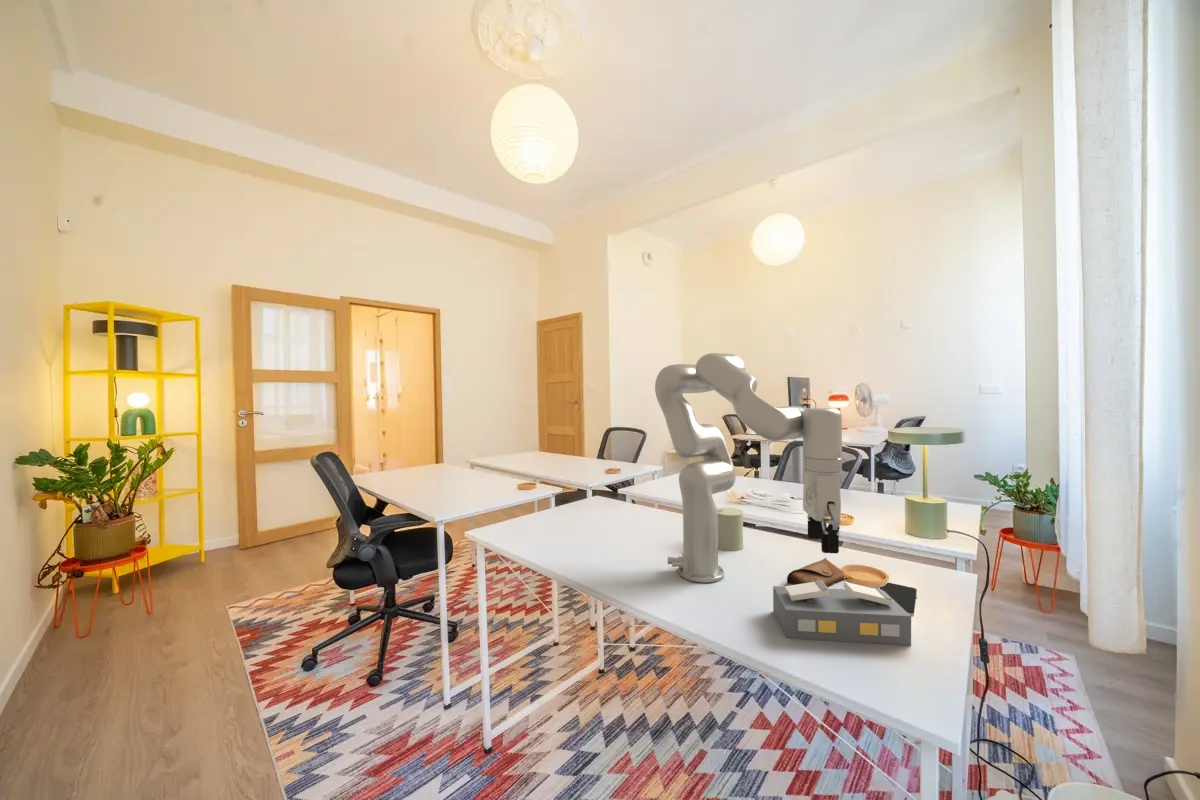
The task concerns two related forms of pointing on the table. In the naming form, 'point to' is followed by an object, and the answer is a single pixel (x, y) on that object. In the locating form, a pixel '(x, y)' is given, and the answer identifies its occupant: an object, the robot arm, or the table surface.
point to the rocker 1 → (807, 590)
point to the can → (730, 529)
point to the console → (841, 618)
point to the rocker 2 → (868, 593)
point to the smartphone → (902, 596)
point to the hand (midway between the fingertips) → (822, 544)
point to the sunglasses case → (816, 574)
